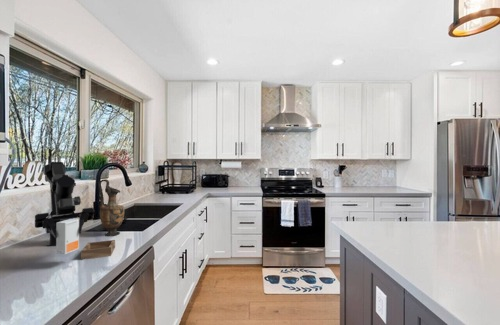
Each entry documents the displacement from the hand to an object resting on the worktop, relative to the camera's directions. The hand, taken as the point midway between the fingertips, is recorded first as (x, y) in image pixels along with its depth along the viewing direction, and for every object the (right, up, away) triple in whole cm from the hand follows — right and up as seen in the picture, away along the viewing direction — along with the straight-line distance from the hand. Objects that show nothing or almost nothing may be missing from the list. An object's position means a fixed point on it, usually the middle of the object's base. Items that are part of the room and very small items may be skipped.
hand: (68, 235), depth 92 cm
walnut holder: (+4, -11, +12) cm, 17 cm away
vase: (-6, -11, +39) cm, 41 cm away
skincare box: (-1, -7, +1) cm, 7 cm away
